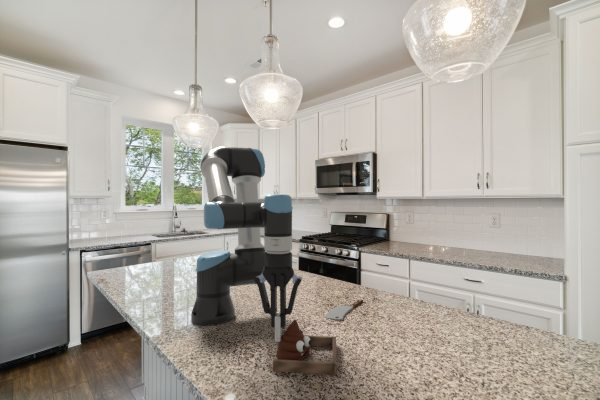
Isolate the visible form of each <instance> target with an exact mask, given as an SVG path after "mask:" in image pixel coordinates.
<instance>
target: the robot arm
mask: <svg viewBox="0 0 600 400" xmlns="http://www.w3.org/2000/svg"><path fill="white" fill-rule="evenodd" d="M265 168H266V161H265V158H264V154H263V152H262V151H261V150H260V149H257V148H252V147H235V146H218V147H215V148H213V149H210V150H209V151H207V153H205V155H204V156H203V158H202V159H201V161H200V172H201V175H202V176H203V178H204V180H205V184H206V192H207V197H208V202H206V203H205V204H204V205H203V225H204V227H205V228H206V229H210V230H223V229H224V230H225V229H227V230H229V229H237V239H238V240H237V241H238V242H237V243H238V244H237V246H236V247H235V248H234V253H232V254H231V253H230V251H229V250H216V251H210V252H207V253H204V254H201V255H200V256H199V257H197V259H196V268H195V272H196V298H195V302H194V304H193V307H192V311H191V316H190V317H191V318H190V319H191V320H190V321H191V322H192V323H193V324H195V325H197V326H198V325H199V326H216V325H221V324H225V323H227V322H229V321H231V320H233V319H234V318H235V315H236V309H235V305H234V303H233V300H232V296H231V287H238V286H239V287H240V286H247V285H256V286H257V287H258V291H259V296H260V300H261V304H262V309H263V312H264V313H265V314H268V315H270V327H271V328H273V329H274V342H278V343H279V342H280V341H281V337H282V335H283V329H285V327H286V325H287V315H291V314H292V312H293V309H294V305H295V300H296V296H297V293H298V288H299V286H300V284H302V283H301V282H302V280H303V278H302V276H298V275H296V273H295V271H294V269H293V252H291V251H293V201H292V196H291V195H290V194H266V195H265V196H264V199H263V201H259V189H258V184H259V183H260V182H261V180H262V178H263V177H264V176H265V174H266V169H265ZM229 177H231V182H232V183H233V184H234V185H235V190H236V192H235V193H236V201H235V197H234V195H233V191H232V187H231V184H230V181H229ZM261 228H264V231H263V233H264V234H263V235H264V236H263V237H264V238H263V240H264V241H263V242H264V244H262V242H261V241H262V240H261V238H262V237H261ZM291 280H292V281H291ZM290 281H291V282H292V284H293V286H292V288H291V292H290V296H289V301H288V305H287V285H288V284H289V283H290ZM265 282H267V283H268V285H269V290H270V299H269V296H268V292H267V288H266V284H265ZM278 288H279V306H280V307H279V312H278ZM269 300H270V301H269Z"/></svg>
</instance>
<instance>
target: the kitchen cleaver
mask: <svg viewBox="0 0 600 400" xmlns="http://www.w3.org/2000/svg"><path fill="white" fill-rule="evenodd" d="M363 303H364V299H357V300H356V301H355V302H353V303H352V304H349V305H340V304H338V305H336V306H335V307H333V308H332V309H331V310H329V312H327V313H326V314H324V316H322V318H324V319H328V320H332V321H336V322H341V321H343V320H344V318H345V316H346V315H347V314H349V312H351V311H352V310H354V309H356V308H358V307H359V306H360V305H362V304H363Z"/></svg>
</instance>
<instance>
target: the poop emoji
mask: <svg viewBox="0 0 600 400" xmlns="http://www.w3.org/2000/svg"><path fill="white" fill-rule="evenodd" d="M308 336H309V335H308ZM308 336H305V337H304V333H303V330H302V329H300V326H299V323H298V322H297V320H296V319H293V320H292V322H291V323H289V325H288V326H287V327H286V330H284V331H283V333H282V337H281V341H280V342H278V345H277V348H276V354H275V355H276V359H280V360H298V361H304V358H306V357H307V356H309V354H310V347H311V346H310V344H311V340H310V338H309V337H308Z"/></svg>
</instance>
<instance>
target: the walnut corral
mask: <svg viewBox="0 0 600 400" xmlns="http://www.w3.org/2000/svg"><path fill="white" fill-rule="evenodd" d="M303 335H304V334H303ZM305 336H308V337H309V338H310V340H311V344H310V346H309V347H311V346H313V347H331V348H332V352H331V353H332V354H331V356H332V357H331V358H332V362H331V361H329V362H328V361H312V360H302V361H298V360H280V359H277V358H273V359H272V372H282V373H284V372H286V373H296V374H297V373H298V374H299V373H300V374H314V375H328V376H330V375H331V376H332V375H333V376H337V369H338V368H337V366H338V365H337V364H338V363H337V336H326V335H325V336H324V335H306V334H305V335H304V337H305Z"/></svg>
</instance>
